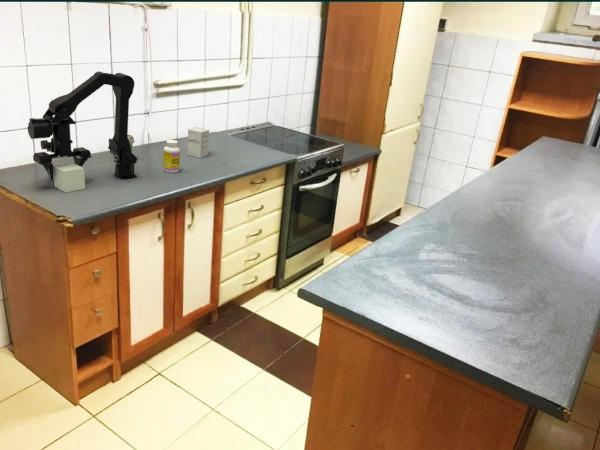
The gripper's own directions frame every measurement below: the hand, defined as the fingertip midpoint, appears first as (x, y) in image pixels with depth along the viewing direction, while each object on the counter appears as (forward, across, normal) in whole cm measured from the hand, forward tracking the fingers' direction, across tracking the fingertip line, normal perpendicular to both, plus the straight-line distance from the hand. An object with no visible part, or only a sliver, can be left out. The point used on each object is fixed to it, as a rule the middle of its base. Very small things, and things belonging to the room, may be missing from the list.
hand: (64, 178), depth 188 cm
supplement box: (+3, -69, -8) cm, 70 cm away
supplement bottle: (+3, -44, +5) cm, 44 cm away
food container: (+3, -36, -16) cm, 39 cm away
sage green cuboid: (+3, 0, +4) cm, 4 cm away
